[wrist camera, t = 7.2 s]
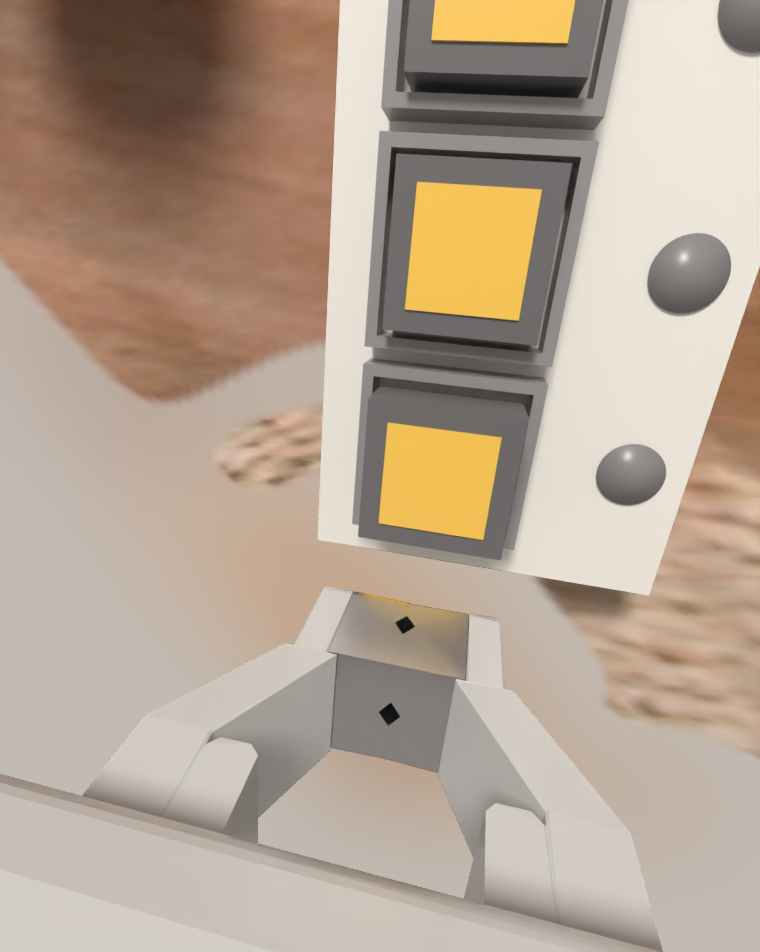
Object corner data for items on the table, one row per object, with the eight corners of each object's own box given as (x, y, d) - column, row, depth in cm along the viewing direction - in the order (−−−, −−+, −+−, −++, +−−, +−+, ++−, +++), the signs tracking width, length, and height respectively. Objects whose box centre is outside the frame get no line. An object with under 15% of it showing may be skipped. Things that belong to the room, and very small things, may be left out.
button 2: (523, 404, 17) (529, 419, 15) (498, 533, 19) (500, 561, 17) (380, 386, 18) (368, 398, 16) (369, 513, 20) (357, 537, 18)
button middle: (562, 176, 16) (572, 162, 14) (531, 339, 18) (537, 345, 16) (405, 167, 17) (396, 152, 15) (392, 324, 18) (381, 329, 17)
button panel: (853, -172, 14) (1000, -349, 10) (628, 558, 23) (660, 616, 19) (372, -156, 16) (336, -300, 12) (335, 511, 25) (307, 555, 21)
